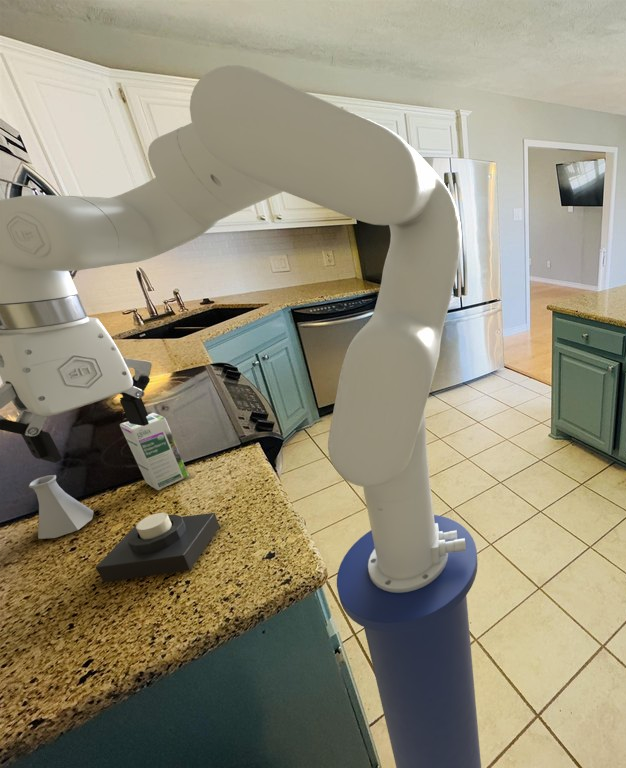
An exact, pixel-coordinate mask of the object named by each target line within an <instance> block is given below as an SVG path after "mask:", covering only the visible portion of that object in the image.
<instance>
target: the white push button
mask: <svg viewBox="0 0 626 768" xmlns="http://www.w3.org/2000/svg"><path fill="white" fill-rule="evenodd" d="M168 515H169V514H168V513H166V512H158V513H157V512H156V513H154V514H150V515H148V516H146V517H144V518H143V519H141V520H139V521H138V522H139V523H138V522H137V523H138V524H137V523H136V524H137V525H136V524H135V525H136V529H137V531H138V533H139V535H140V537H141V539H143V540H146V539H152V538H154V537H157V536H160V535H162V534H163V533H165V532H167V531H168V530H170V528H171V527H172V523H171V521H170V519H169V517H168Z"/></svg>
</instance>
